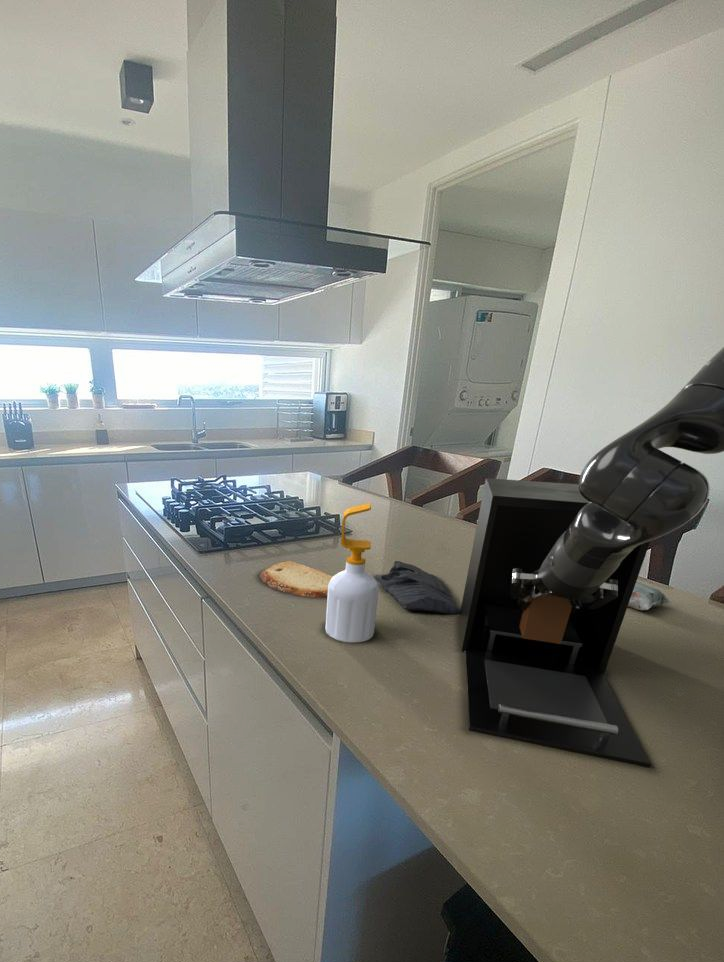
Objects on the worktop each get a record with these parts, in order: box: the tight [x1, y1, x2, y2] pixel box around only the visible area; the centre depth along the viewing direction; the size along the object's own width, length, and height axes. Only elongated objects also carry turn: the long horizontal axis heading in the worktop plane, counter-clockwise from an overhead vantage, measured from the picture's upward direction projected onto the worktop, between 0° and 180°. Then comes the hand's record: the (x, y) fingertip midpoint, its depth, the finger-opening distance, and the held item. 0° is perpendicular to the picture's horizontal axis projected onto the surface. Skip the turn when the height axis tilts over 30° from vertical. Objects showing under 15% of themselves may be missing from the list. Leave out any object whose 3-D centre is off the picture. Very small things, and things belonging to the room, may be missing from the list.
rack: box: [483, 605, 582, 664], centre depth 87 cm, size 14×11×4 cm
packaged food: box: [627, 581, 671, 611], centre depth 105 cm, size 9×12×5 cm
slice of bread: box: [259, 560, 333, 598], centre depth 113 cm, size 18×18×4 cm
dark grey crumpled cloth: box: [374, 560, 461, 615], centre depth 108 cm, size 15×22×5 cm
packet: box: [519, 582, 572, 644], centre depth 77 cm, size 6×4×8 cm
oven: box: [459, 477, 651, 769], centre depth 74 cm, size 22×38×28 cm, turn 162°
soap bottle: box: [325, 502, 380, 644], centre depth 87 cm, size 9×9×25 cm
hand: (543, 607), depth 79 cm, fingers closed on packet, 5 cm apart
